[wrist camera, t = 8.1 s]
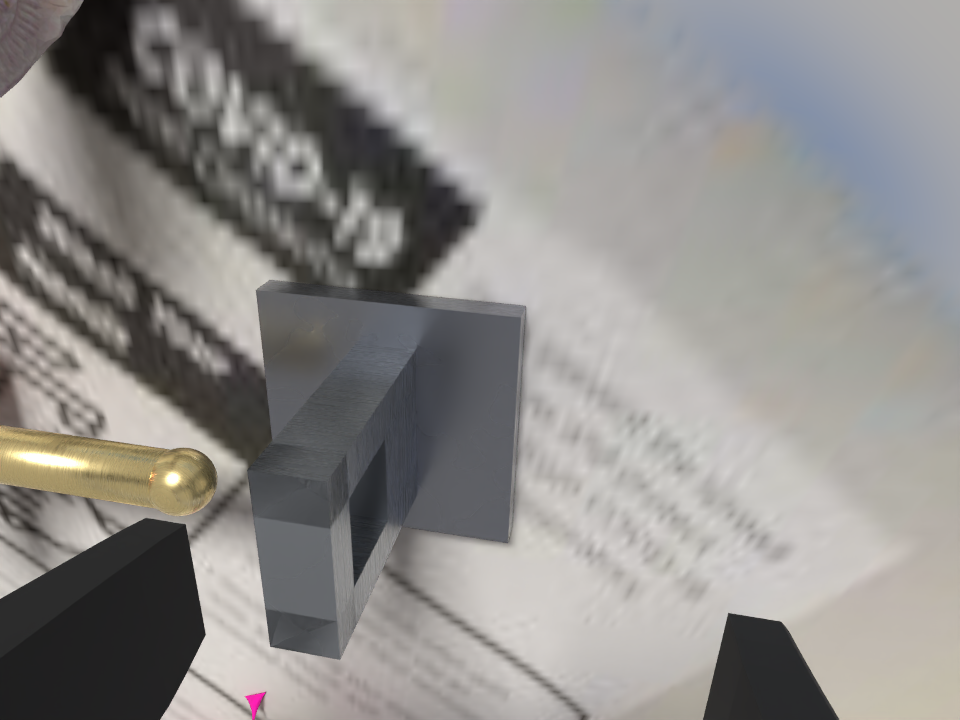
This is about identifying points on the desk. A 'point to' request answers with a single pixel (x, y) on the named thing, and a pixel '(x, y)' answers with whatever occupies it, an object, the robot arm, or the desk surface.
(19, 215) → the desk surface
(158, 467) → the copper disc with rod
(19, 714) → the robot arm
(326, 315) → the eye post
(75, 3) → the fossil
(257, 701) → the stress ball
